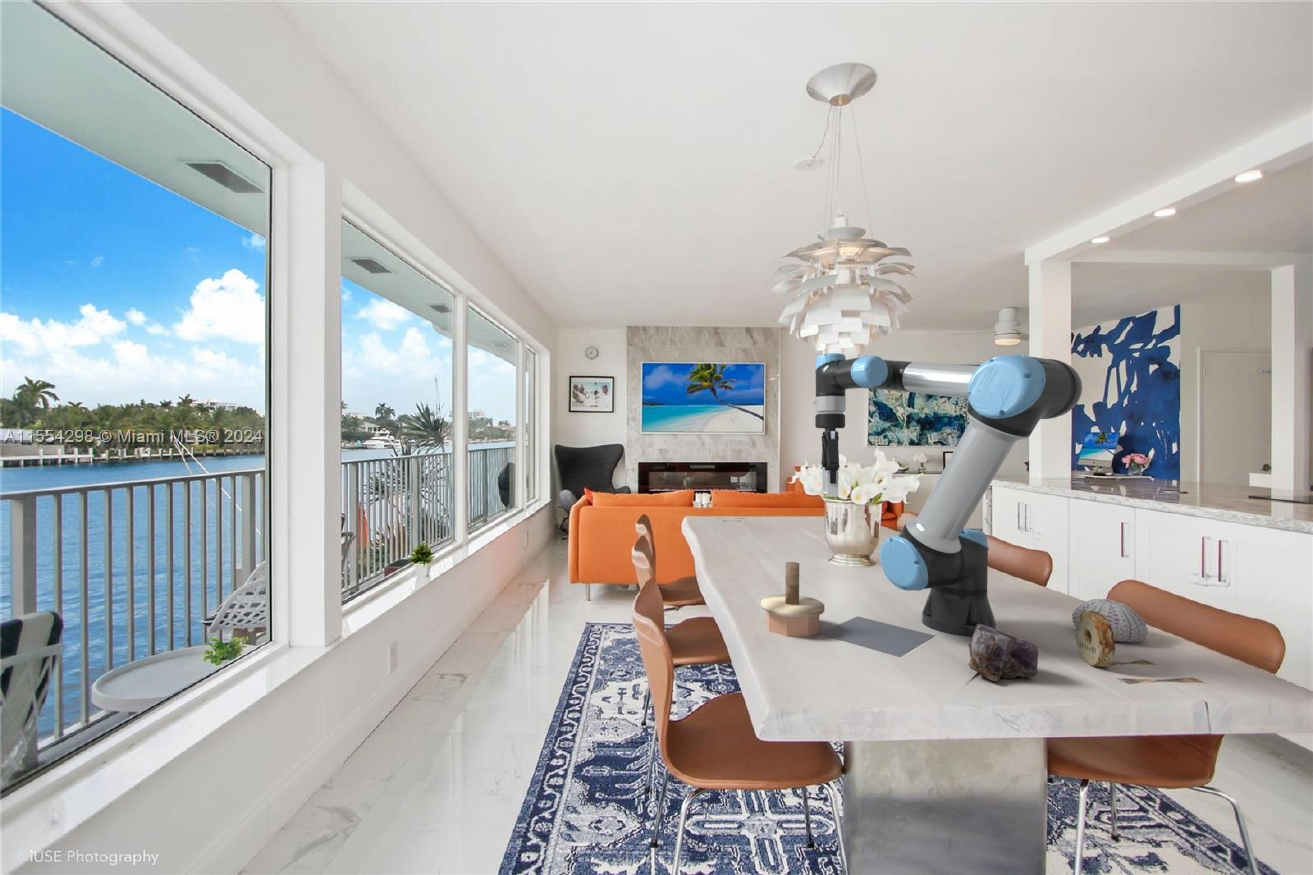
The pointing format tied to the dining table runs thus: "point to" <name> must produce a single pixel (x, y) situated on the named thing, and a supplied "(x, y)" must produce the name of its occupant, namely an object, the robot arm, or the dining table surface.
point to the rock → (1001, 654)
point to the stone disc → (1095, 639)
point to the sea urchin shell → (1116, 619)
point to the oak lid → (792, 598)
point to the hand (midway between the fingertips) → (829, 494)
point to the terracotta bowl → (792, 625)
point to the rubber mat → (877, 636)
